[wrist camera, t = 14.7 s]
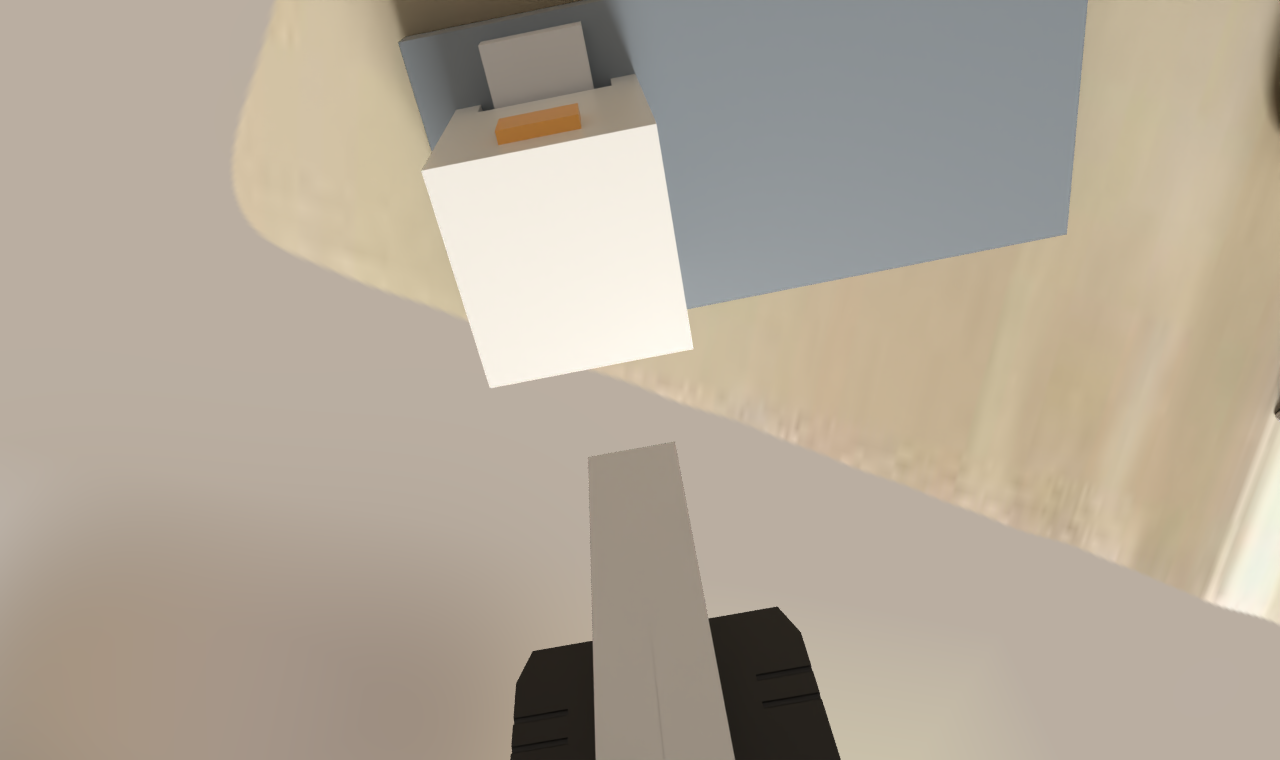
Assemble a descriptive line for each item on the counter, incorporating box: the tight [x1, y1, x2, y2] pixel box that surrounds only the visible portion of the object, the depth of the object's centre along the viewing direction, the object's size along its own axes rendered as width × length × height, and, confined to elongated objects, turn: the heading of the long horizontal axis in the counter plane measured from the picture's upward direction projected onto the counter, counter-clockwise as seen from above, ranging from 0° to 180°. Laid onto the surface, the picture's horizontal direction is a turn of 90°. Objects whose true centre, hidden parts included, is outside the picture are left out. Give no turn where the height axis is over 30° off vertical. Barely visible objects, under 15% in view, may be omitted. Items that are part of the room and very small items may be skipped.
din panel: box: [398, 0, 1088, 309], centre depth 31 cm, size 12×24×2 cm, turn 100°
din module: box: [421, 74, 693, 388], centre depth 27 cm, size 7×6×8 cm
